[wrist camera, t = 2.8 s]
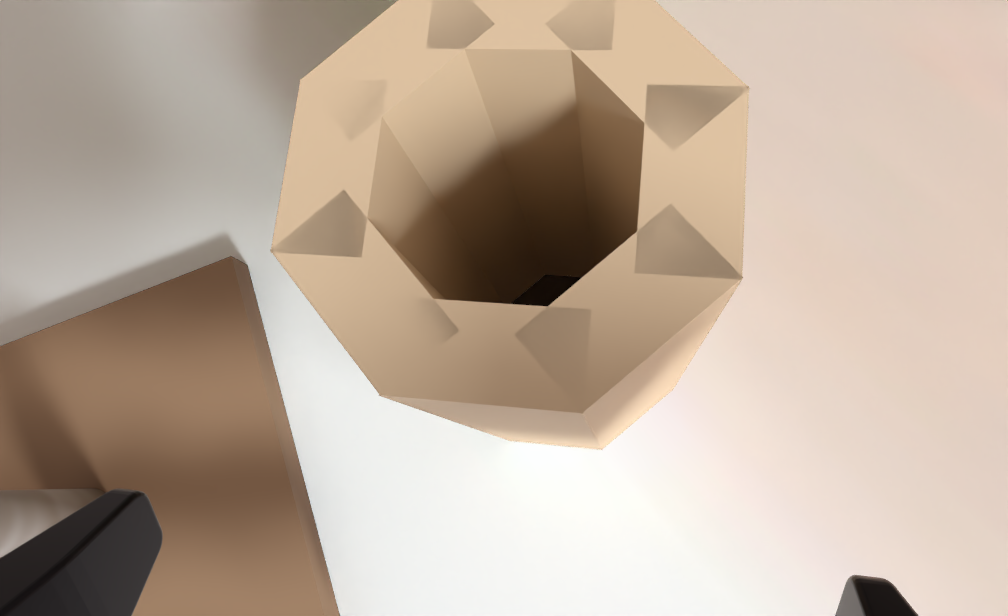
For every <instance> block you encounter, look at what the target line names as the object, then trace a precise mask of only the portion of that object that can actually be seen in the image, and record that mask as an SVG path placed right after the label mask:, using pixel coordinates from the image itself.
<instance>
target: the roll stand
mask: <svg viewBox="0 0 1008 616" xmlns="http://www.w3.org/2000/svg"><path fill="white" fill-rule="evenodd" d="M113 489H130V490H138V491H142V492H144V493H145V494H146V495H147V496H148V498H149V500H150V502H151V505H152V507H153V509H154V512H155V514H156V517H157V519H158V521H159V524H160V526H161V529H162V533H163V540H162V545H161V549H160V552H159V554H158V556H157V559H156V561H155V563H154V566H153V568H152V570H151V573H150V575H149V577H148V579H147V582H146V584H145V586H144V589H143V591H142V593H141V596H140V598H139V600H138V603H137V605H136V607H135V610H134V612H133V614H132V616H340V615H339V611H338V607H337V604H336V600H335V596H334V592H333V588H332V585H331V581H330V577H329V573H328V570H327V566H326V562H325V558H324V554H323V551H322V547H321V543H320V539H319V535H318V532H317V528H316V524H315V520H314V516H313V513H312V509H311V505H310V501H309V497H308V494H307V490H306V486H305V482H304V478H303V475H302V471H301V467H300V463H299V459H298V456H297V452H296V448H295V444H294V441H293V437H292V433H291V429H290V425H289V422H288V418H287V414H286V410H285V406H284V403H283V399H282V395H281V391H280V387H279V384H278V380H277V376H276V372H275V368H274V365H273V361H272V357H271V353H270V349H269V346H268V342H267V338H266V334H265V330H264V327H263V323H262V319H261V315H260V312H259V308H258V304H257V300H256V296H255V293H254V289H253V285H252V281H251V277H250V274H249V270H248V266H247V265H246V264H244V263H242V262H241V261H239V260H237V259H235V258H234V257H232V256H231V257H228V258H226V259H223V260H220V261H218V262H215V263H213V264H210V265H208V266H205V267H202V268H200V269H197V270H195V271H192V272H190V273H187V274H184V275H182V276H179V277H177V278H174V279H172V280H169V281H167V282H164V283H161V284H159V285H156V286H154V287H151V288H149V289H146V290H143V291H141V292H138V293H136V294H133V295H131V296H128V297H125V298H123V299H120V300H118V301H115V302H113V303H110V304H108V305H105V306H102V307H100V308H97V309H95V310H92V311H90V312H87V313H84V314H82V315H79V316H77V317H74V318H72V319H69V320H67V321H64V322H61V323H59V324H56V325H54V326H51V327H49V328H46V329H43V330H41V331H38V332H36V333H33V334H31V335H28V336H25V337H23V338H20V339H18V340H15V341H13V342H10V343H8V344H5V345H2V346H0V558H1V557H3V556H4V555H6V554H7V553H9V552H11V551H12V550H14V549H15V548H17V547H19V546H20V545H22V544H24V543H25V542H27V541H28V540H30V539H32V538H33V537H35V536H37V535H38V534H40V533H41V532H43V531H45V530H46V529H48V528H50V527H51V526H53V525H54V524H56V523H58V522H59V521H61V520H63V519H64V518H66V517H67V516H69V515H71V514H72V513H74V512H76V511H77V510H79V509H80V508H82V507H84V506H85V505H87V504H89V503H90V502H92V501H93V500H95V499H97V498H98V497H100V496H101V495H103V494H105V493H106V492H108V491H110V490H113Z"/></svg>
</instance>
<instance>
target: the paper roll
mask: <svg viewBox="0 0 1008 616" xmlns="http://www.w3.org/2000/svg"><path fill="white" fill-rule="evenodd" d="M749 89H750V88H749V86H747V85H746V84H745V83H743V82H742V81H741V80H740V79H739V78H738V77H737V76H736V75H735V74H734V73H733V72H732V71H730V70H729V69H728V68H727V67H726V66H725V65H724V64H723V63H722V62H721V61H720V60H719V59H717V58H716V57H715V56H714V55H713V54H712V53H711V52H710V51H709V50H708V49H707V48H706V47H704V46H703V45H702V44H701V43H700V42H699V41H698V40H697V39H696V38H695V37H694V36H693V35H691V34H690V33H689V32H688V31H687V30H686V29H685V28H684V27H683V26H682V25H681V24H680V23H678V22H677V21H676V20H675V19H674V18H673V17H672V16H671V15H670V14H669V13H668V12H667V11H665V10H664V9H663V8H662V7H661V6H660V5H659V4H658V3H657V2H656V1H655V0H398V1H397V2H395V3H394V4H393V5H392V6H390V7H389V8H388V9H387V10H385V11H384V12H383V13H382V14H381V15H379V16H378V17H377V18H376V19H374V20H373V21H372V22H371V23H370V24H368V25H367V26H366V27H365V28H363V29H362V30H361V31H360V32H359V33H357V34H356V35H355V36H354V37H352V38H351V39H350V40H349V41H347V42H346V43H345V44H344V45H343V46H341V47H340V48H339V49H338V50H336V51H335V52H334V53H333V54H332V55H330V56H329V57H328V58H327V59H325V60H324V61H323V62H322V63H320V64H319V65H318V66H317V67H316V68H314V69H313V70H312V71H311V72H309V73H308V74H307V75H306V76H305V77H303V78H302V79H300V85H299V91H298V97H297V102H296V108H295V114H294V120H293V125H292V131H291V137H290V143H289V149H288V154H287V160H286V166H285V172H284V178H283V183H282V189H281V195H280V201H279V207H278V212H277V218H276V224H275V230H274V235H273V241H272V247H271V250H270V251H271V253H273V255H274V256H275V257H276V259H277V260H278V261H279V262H280V264H281V265H282V266H283V268H284V269H285V270H286V272H287V273H288V274H289V276H290V277H291V278H292V280H293V281H294V282H295V284H296V285H297V286H298V288H299V289H300V290H301V291H302V293H303V294H304V295H305V297H306V298H307V299H308V301H309V302H310V303H311V305H312V306H313V307H314V309H315V310H316V311H317V313H318V314H319V315H320V317H321V318H322V319H323V320H324V322H325V323H326V324H327V326H328V327H329V328H330V330H331V331H332V332H333V334H334V335H335V336H336V338H337V339H338V340H339V342H340V343H341V344H342V346H343V347H344V348H345V349H346V351H347V352H348V353H349V355H350V356H351V357H352V359H353V360H354V361H355V363H356V364H357V365H358V367H359V368H360V369H361V371H362V372H363V373H364V375H365V376H366V377H367V378H368V380H369V381H370V382H371V384H372V385H373V386H374V388H375V389H376V390H377V392H378V393H379V395H380V396H382V397H385V398H388V399H390V400H393V401H396V402H399V403H402V404H405V405H408V406H411V407H414V408H416V409H419V410H422V411H425V412H428V413H431V414H434V415H437V416H440V417H442V418H445V419H448V420H451V421H454V422H457V423H460V424H463V425H466V426H468V427H471V428H474V429H477V430H480V431H483V432H486V433H489V434H492V435H494V436H497V437H500V438H503V439H506V440H509V441H518V442H528V443H538V444H549V445H559V446H569V447H580V448H590V449H600V450H603V448H604V447H606V446H607V445H608V444H609V443H610V442H612V441H613V440H614V439H615V438H616V437H617V436H619V435H620V434H621V433H622V432H623V431H625V430H626V429H627V428H628V427H629V426H630V425H632V424H633V423H634V422H635V421H636V420H637V419H639V418H640V417H641V416H642V415H643V414H645V413H646V412H647V411H648V410H649V409H650V408H652V407H653V406H654V405H655V404H656V403H658V402H659V401H660V400H661V399H662V398H663V397H665V396H666V395H667V394H668V393H669V392H671V391H672V390H673V389H674V387H675V385H676V384H677V382H678V381H679V379H680V377H681V376H682V374H683V373H684V371H685V370H686V368H687V366H688V365H689V363H690V362H691V360H692V358H693V357H694V355H695V354H696V352H697V350H698V349H699V347H700V346H701V344H702V342H703V341H704V339H705V338H706V336H707V334H708V333H709V331H710V330H711V328H712V327H713V325H714V323H715V322H716V320H717V319H718V317H719V315H720V314H721V312H722V311H723V309H724V307H725V306H726V304H727V303H728V301H729V299H730V298H731V296H732V295H733V293H734V291H735V290H736V288H737V287H738V285H739V283H740V282H741V280H742V278H743V277H742V266H743V237H744V209H745V181H746V152H747V124H748V96H749ZM544 275H554V276H571V277H582V278H581V279H580V280H579V281H577V282H576V283H575V284H574V285H573V286H571V287H570V288H569V289H568V290H567V291H565V292H564V293H563V294H562V295H561V296H559V297H558V298H557V299H556V300H555V301H553V302H552V303H551V304H550V305H549V306H533V305H518V304H511V303H512V302H513V301H514V300H516V299H517V298H518V297H519V296H520V295H522V294H523V293H524V292H525V291H526V290H528V289H529V288H530V287H531V286H532V285H534V284H535V283H536V282H537V281H538V280H540V279H541V278H542V277H543V276H544Z"/></svg>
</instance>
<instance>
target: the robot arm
mask: <svg viewBox="0 0 1008 616" xmlns="http://www.w3.org/2000/svg"><path fill="white" fill-rule="evenodd" d="M162 540H163V533H162V529H161V526H160V524H159V521H158V519H157V517H156V514H155V512H154V509H153V507H152V505H151V502H150V500H149V498H148V496H147V495H146V494H145V493H144V492H142V491H138V490H130V489H113V490H110V491H108V492H106V493H105V494H103V495H101V496H100V497H98V498H97V499H95V500H93V501H92V502H90V503H89V504H87V505H85V506H84V507H82V508H80V509H79V510H77V511H76V512H74V513H72V514H71V515H69V516H67V517H66V518H64V519H63V520H61V521H59V522H58V523H56V524H54V525H53V526H51V527H50V528H48V529H46V530H45V531H43V532H41V533H40V534H38V535H37V536H35V537H33V538H32V539H30V540H28V541H27V542H25V543H24V544H22V545H20V546H19V547H17V548H15V549H14V550H12V551H11V552H9V553H7V554H6V555H4V556H3V557H1V558H0V616H132V614H133V612H134V610H135V607H136V605H137V603H138V600H139V598H140V596H141V593H142V591H143V589H144V586H145V584H146V582H147V579H148V577H149V575H150V573H151V570H152V568H153V566H154V563H155V561H156V559H157V556H158V554H159V552H160V549H161V545H162ZM835 616H918V614H917V613H916V612H915V611H914V610H913V608H912V607H911V606H910V605H909V603H908V602H907V601H906V600H905V598H904V597H903V596H902V595H901V594H900V592H899V591H898V590H897V589H896V587H895V586H894V585H893V584H892V583H891V582H889V581H888V580H886V579H883V578H877V577H868V576H860V575H853V576H851V577H850V578H849V579H848V580H847V582H846V585H845V588H844V591H843V594H842V597H841V600H840V603H839V606H838V609H837V612H836V615H835Z"/></svg>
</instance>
